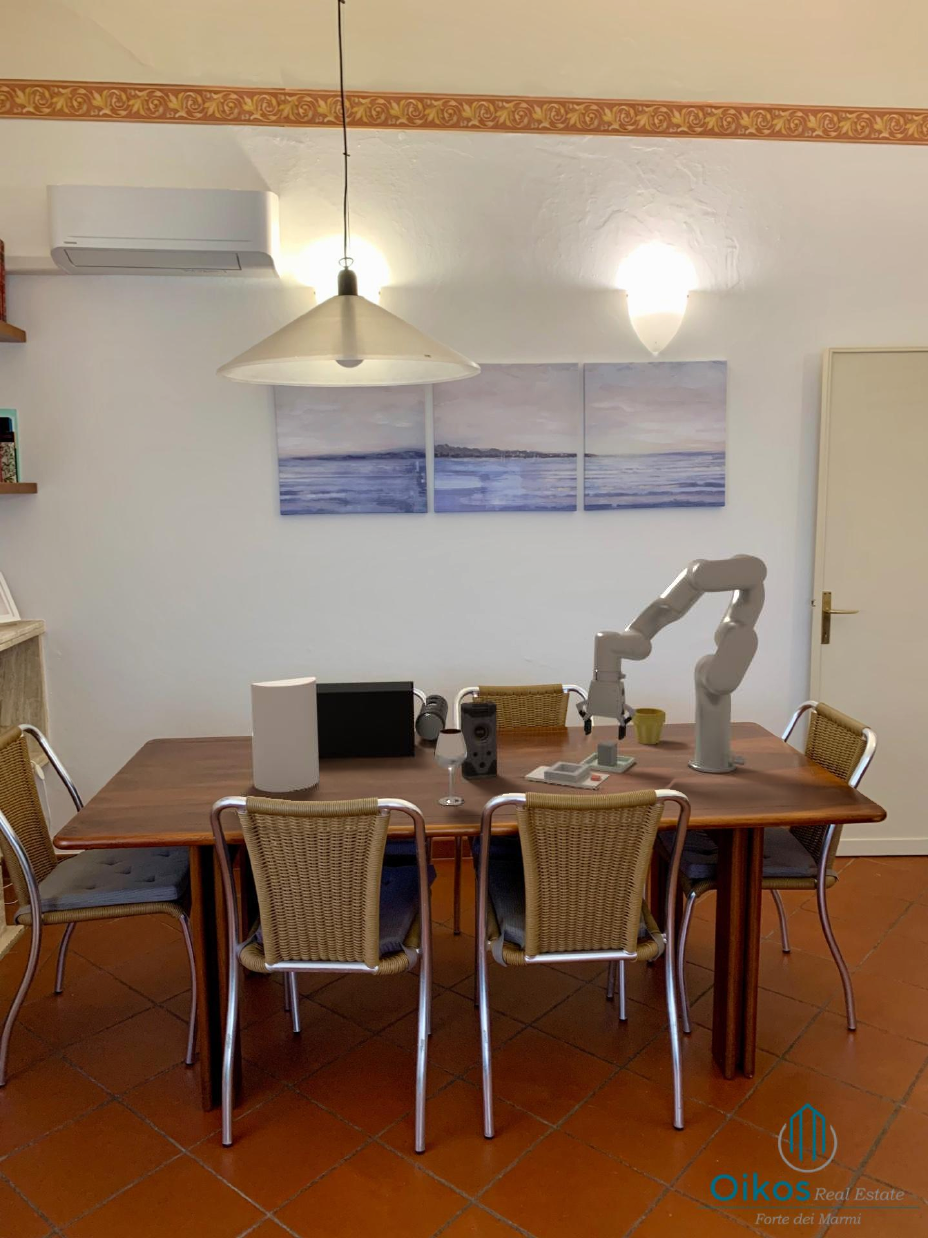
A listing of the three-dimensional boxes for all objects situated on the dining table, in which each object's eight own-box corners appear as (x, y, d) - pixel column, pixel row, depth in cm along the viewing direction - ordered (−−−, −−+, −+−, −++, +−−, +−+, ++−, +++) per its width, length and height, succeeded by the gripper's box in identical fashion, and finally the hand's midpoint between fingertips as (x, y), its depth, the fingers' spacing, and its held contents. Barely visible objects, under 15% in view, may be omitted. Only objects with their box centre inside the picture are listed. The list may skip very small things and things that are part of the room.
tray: (634, 764, 257) (634, 757, 257) (621, 776, 247) (621, 768, 247) (594, 759, 263) (594, 753, 263) (579, 770, 253) (579, 763, 252)
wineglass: (467, 796, 232) (466, 727, 229) (468, 806, 223) (467, 735, 221) (435, 797, 231) (433, 727, 229) (435, 807, 223) (433, 735, 221)
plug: (617, 763, 256) (617, 742, 255) (611, 768, 252) (611, 746, 251) (603, 761, 258) (603, 741, 257) (597, 766, 254) (597, 745, 253)
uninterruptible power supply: (414, 757, 268) (413, 691, 266) (299, 761, 266) (296, 693, 264) (414, 743, 284) (413, 680, 282) (306, 746, 283) (303, 683, 280)
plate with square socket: (609, 778, 245) (609, 767, 244) (595, 790, 235) (595, 778, 235) (541, 769, 254) (541, 758, 254) (524, 780, 245) (524, 769, 244)
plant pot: (636, 736, 289) (636, 706, 288) (668, 739, 284) (669, 708, 283) (627, 744, 280) (627, 713, 278) (660, 747, 275) (660, 715, 274)
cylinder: (328, 785, 242) (325, 681, 239) (265, 796, 234) (260, 689, 230) (306, 769, 257) (302, 671, 254) (245, 779, 249) (241, 678, 245)
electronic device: (465, 780, 245) (464, 707, 243) (460, 773, 251) (459, 702, 248) (498, 776, 248) (498, 704, 245) (492, 770, 253) (491, 700, 251)
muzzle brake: (449, 723, 310) (448, 693, 309) (445, 744, 282) (444, 712, 281) (421, 723, 310) (420, 693, 309) (414, 745, 283) (413, 712, 281)
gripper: (641, 677, 251) (638, 738, 253) (582, 671, 259) (580, 729, 261) (633, 681, 244) (630, 744, 247) (572, 675, 252) (570, 735, 255)
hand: (604, 736), depth 254 cm, fingers open, 9 cm apart
